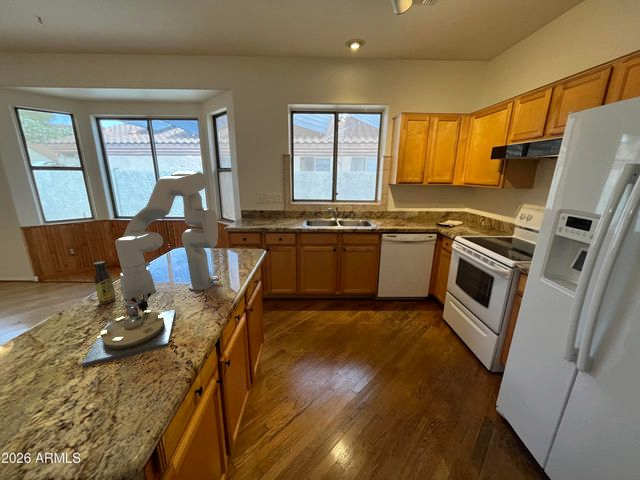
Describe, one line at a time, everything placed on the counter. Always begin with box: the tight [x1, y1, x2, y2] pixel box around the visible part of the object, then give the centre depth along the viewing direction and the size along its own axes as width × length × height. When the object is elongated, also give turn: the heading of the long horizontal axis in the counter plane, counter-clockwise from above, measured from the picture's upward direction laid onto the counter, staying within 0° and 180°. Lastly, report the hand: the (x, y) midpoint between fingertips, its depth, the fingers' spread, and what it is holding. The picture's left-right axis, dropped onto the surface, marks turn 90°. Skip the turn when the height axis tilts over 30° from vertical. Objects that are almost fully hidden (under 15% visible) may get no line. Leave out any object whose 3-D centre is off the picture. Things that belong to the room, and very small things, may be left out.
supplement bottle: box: [122, 294, 143, 307], centre depth 117 cm, size 7×7×13 cm
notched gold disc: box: [99, 305, 165, 349], centre depth 94 cm, size 19×19×7 cm
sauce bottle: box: [93, 260, 116, 305], centre depth 118 cm, size 6×6×20 cm
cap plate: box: [80, 309, 176, 368], centre depth 95 cm, size 24×24×2 cm
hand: (144, 309), depth 102 cm, fingers closed
